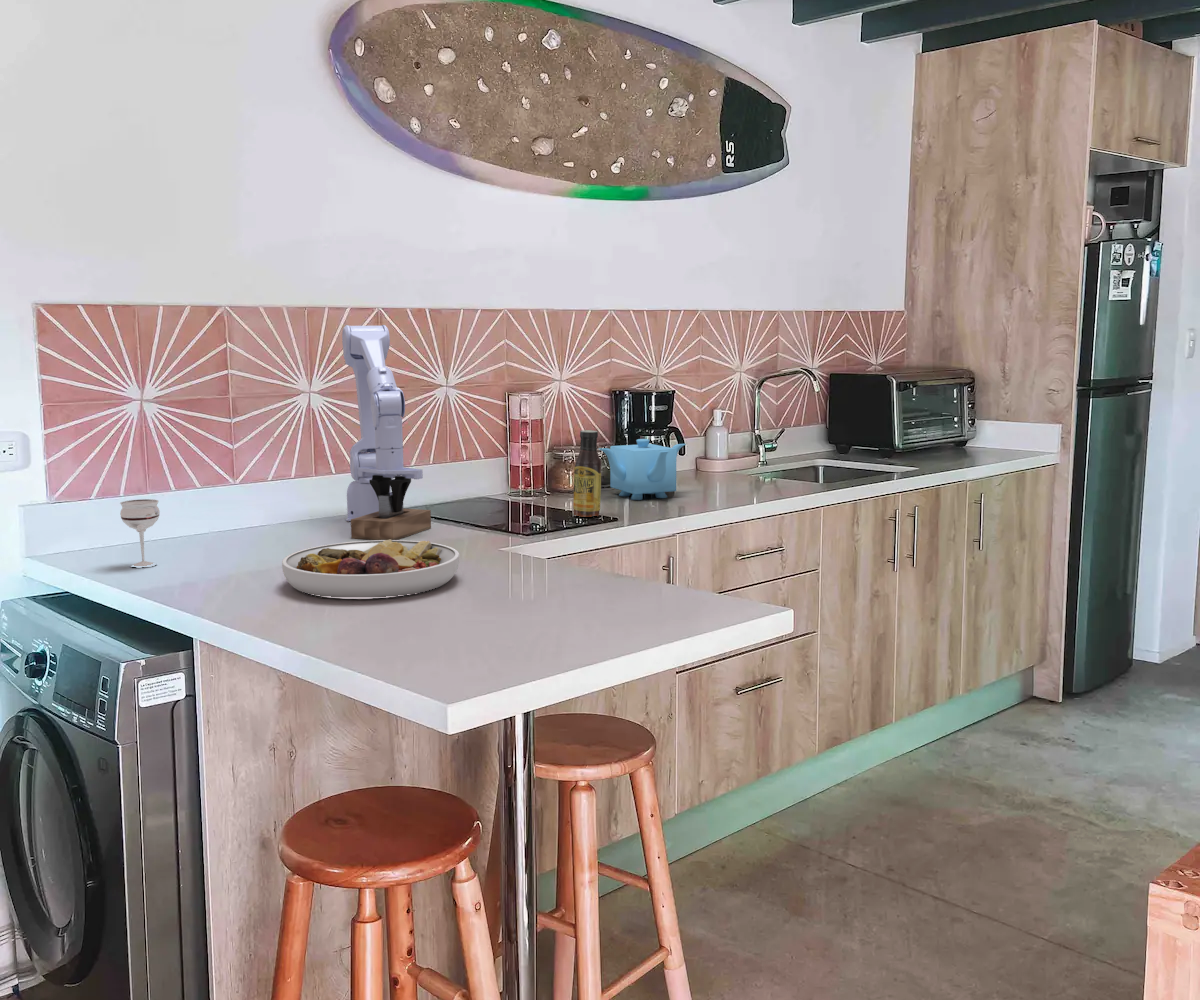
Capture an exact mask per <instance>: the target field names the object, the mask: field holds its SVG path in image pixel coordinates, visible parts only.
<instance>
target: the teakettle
mask: <svg viewBox="0 0 1200 1000" xmlns="http://www.w3.org/2000/svg"><path fill="white" fill-rule="evenodd" d="M635 441H636V444H624V445H611V446H610V448H606V447H605V448H604V447H603V448H600V447H599V448H598V450H599V451H601V452H603V453H604V454H605V455H606V457H607V460H608V464H609V468H610V469H609V470H610V474H609V475H610V477H609V479H610V483H609V484H610V485H609V486H610V487H609V488H612V489H616V490H619V491H620V492H619V494H618V496H619V497H629V496H631V497H630V500H632V501H641V500H643V495H655V498H658V499H667V498H668V495H667V494H666V493H668V492H677V456H678V453H679V451H680V449H681V448H682V447H684V446H686V445H687V443H677V444H674V445H673V446H672V447H669V446H662V445H660V444H659V445H658V444H655V443H653V444H652V443H650V439H648V438H638V439H636V440H635ZM631 494H632V495H631Z"/></svg>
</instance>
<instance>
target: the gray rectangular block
mask: <svg viewBox="0 0 1200 1000" xmlns="http://www.w3.org/2000/svg"><path fill="white" fill-rule="evenodd" d="M378 498H379V519H388V518H391V517H395V516H398V515H401V514H404V511H403V509H404V504H403V505H402V510H401V511H400V512H394V510H393V496H392V491H391V492H390V493H386V494H383V495H379V496H378Z"/></svg>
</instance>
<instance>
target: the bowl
mask: <svg viewBox="0 0 1200 1000" xmlns="http://www.w3.org/2000/svg"><path fill="white" fill-rule="evenodd" d="M281 565H282V567H281V568H282V572H283V576H284V578H285V579H286V581H287V583H288V584H289V585H290V586H291V587H292V588H294V589H295V590H297V591H299V592H301V591H302V592H301V593H303V592H305V593H309V594H314V595H320V596H331V597H386V596H398V595H407V594H415V593H419V594H421V593H420V592H423V593H426V592H425V591H427V592H430V591H432V589H433V590H436V589H438V588H439V587H442V586H445V584H447V583H448V582H449V581H450V580H451V579H452V578H453V577H454V576H455V575H456V573H457V571H458V569H459V565H460V552H459V551H458V550H457V549H455V548H454V547H451V546H448V545H445V544H440V543H435V542H430V541H429V540H427V541H426V540H421V541H420V540H405V539H399V540H391V539H389V540H357V541H347V542H346V541H345V542H337V543H335V542H334V543H330V544H322V545H317V546H312V547H309V548H304V549H301V550H298V551H295V552H292V553H290V554H288V555H286V556H285V557H283V559H282V561H281ZM435 588H436V589H435ZM429 590H430V591H429ZM305 593H304V594H305ZM415 595H416V594H415Z"/></svg>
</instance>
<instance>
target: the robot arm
mask: <svg viewBox="0 0 1200 1000" xmlns="http://www.w3.org/2000/svg"><path fill="white" fill-rule="evenodd" d="M341 339H342V341H341V342H342V352H343V353H342V354H343V359H344V364H345V365H347V366H349V367H351V368H352V370H353V374H354V378H355V389H356V397H357V398H356V399H357V400H356V401H357V407H358V408H357V409H358V419H359V428H360V431H359V432H360V439H359V440H357V441H356V442H355V443H354V444H353V445H352V446H351V449H350V451H349V458H350V459H349V468H350V475H351V478H352V481H351V482H350V483H349V485H348V486H347V490H346V510H347V511H346V512H347V518H345V521H346V522H351V519H354V518H358V517H361V516H364V515H368V514H371V513H374V512H378V511H379V498H378V496H379V495H383V494H386V493H390V492H392V496H393V510H394V512H400V511H401V510H402V505H403V506H404V501H405V497H406V493H407V491H408V489H409V487H410V484H411V482H412V479H414V480H421V479H423V475H424V474H423V469H421V468H412V467H411V468H410V467H404V441H403V440H404V439H403V418H404V416H405V413H406V400H405V399H406V398H405V395H404V392H403V389H401V388H400V387H398V386H397V383H396V379H395V376H394V373H393V370H391V369H390V368H389V367H387V366H386V359H387V357H388V353H389V350H390V342H391V337H390V331H389V327H387V326H386V325H385V324H382V325H348V324H346V325H345V326H344V327H343V328H342V331H341Z"/></svg>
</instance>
